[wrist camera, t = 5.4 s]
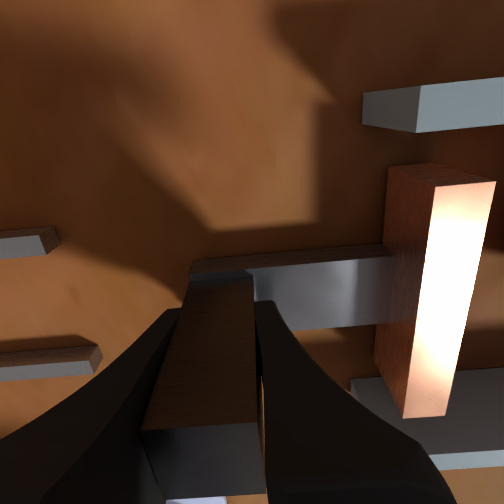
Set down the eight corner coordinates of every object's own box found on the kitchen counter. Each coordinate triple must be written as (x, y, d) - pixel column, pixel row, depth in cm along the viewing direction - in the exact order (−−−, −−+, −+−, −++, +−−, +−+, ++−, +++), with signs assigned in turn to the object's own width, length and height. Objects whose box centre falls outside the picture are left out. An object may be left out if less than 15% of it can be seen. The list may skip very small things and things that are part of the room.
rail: (102, 358, 16) (93, 373, 15) (-28, 368, 16) (-45, 385, 15) (53, 225, 13) (38, 235, 12) (-104, 241, 13) (-131, 251, 12)
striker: (407, 356, 15) (530, 550, 9) (214, 371, 16) (188, 570, 9) (433, 162, 11) (686, 239, 5) (179, 186, 12) (89, 291, 5)
